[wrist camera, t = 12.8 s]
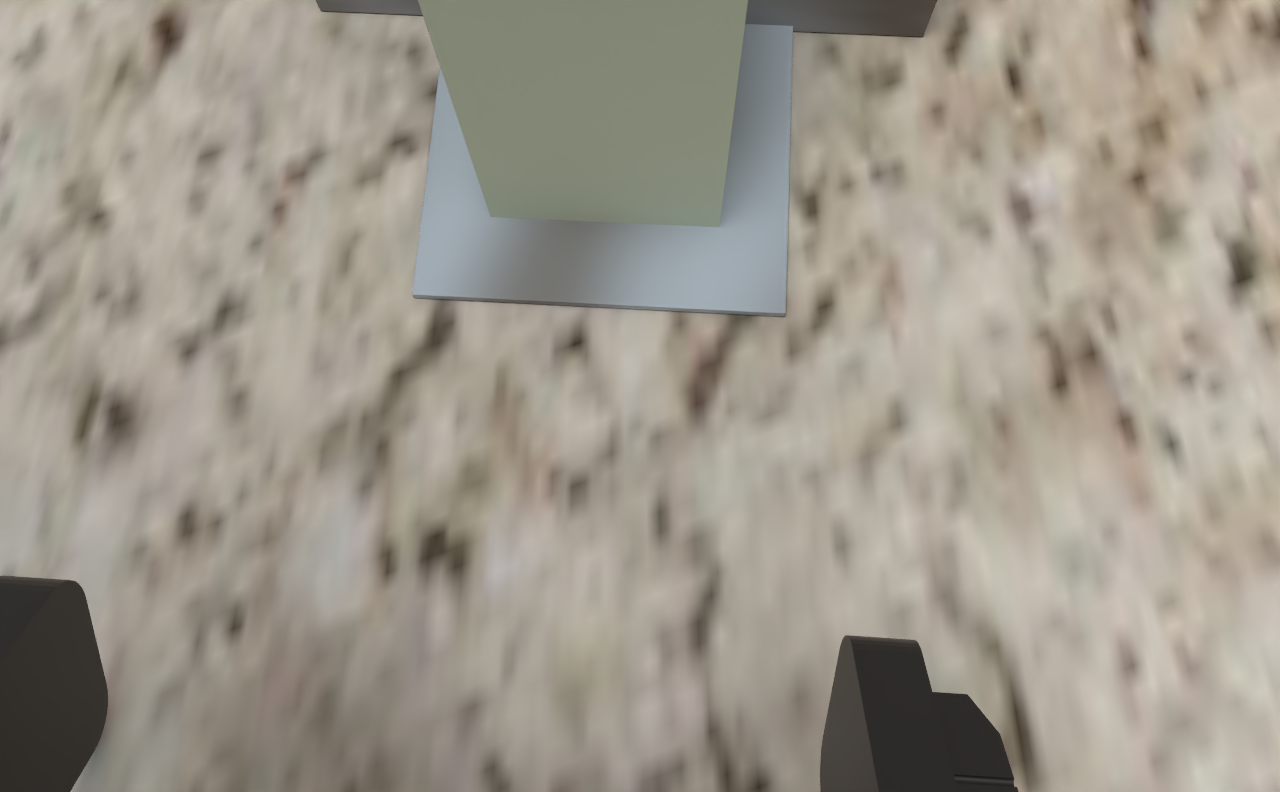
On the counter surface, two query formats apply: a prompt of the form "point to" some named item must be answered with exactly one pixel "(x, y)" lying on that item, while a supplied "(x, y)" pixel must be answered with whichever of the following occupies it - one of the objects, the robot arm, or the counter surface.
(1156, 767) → the counter surface
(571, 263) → the dock
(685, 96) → the green block
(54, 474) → the counter surface
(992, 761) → the robot arm
